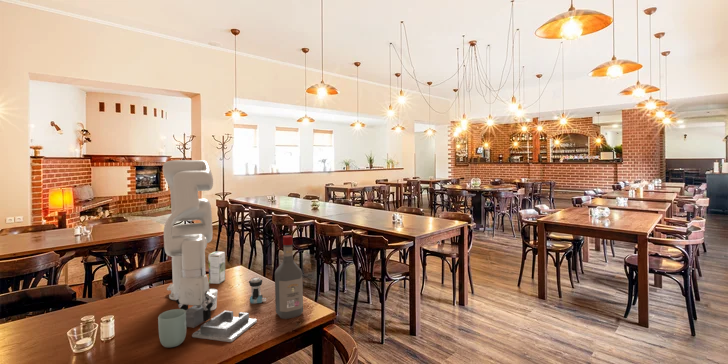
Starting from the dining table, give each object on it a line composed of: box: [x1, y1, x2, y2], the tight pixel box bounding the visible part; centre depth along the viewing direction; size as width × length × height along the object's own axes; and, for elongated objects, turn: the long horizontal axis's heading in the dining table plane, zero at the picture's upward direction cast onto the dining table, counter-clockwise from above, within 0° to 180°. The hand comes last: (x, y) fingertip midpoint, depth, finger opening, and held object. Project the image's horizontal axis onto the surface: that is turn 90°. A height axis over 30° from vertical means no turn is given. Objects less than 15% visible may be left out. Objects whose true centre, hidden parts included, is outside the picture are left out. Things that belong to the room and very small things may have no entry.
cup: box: [157, 308, 188, 349], centre depth 111 cm, size 8×8×10 cm
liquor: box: [274, 234, 304, 320], centre depth 133 cm, size 9×9×30 cm
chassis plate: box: [191, 310, 258, 343], centre depth 122 cm, size 15×15×4 cm
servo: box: [185, 305, 207, 329], centre depth 127 cm, size 4×9×6 cm, turn 166°
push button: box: [248, 277, 267, 304], centre depth 145 cm, size 7×5×10 cm
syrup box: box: [207, 251, 226, 285], centre depth 172 cm, size 6×6×14 cm
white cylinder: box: [205, 288, 218, 312], centre depth 139 cm, size 7×7×7 cm
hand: (195, 318), depth 127 cm, fingers open, 9 cm apart
